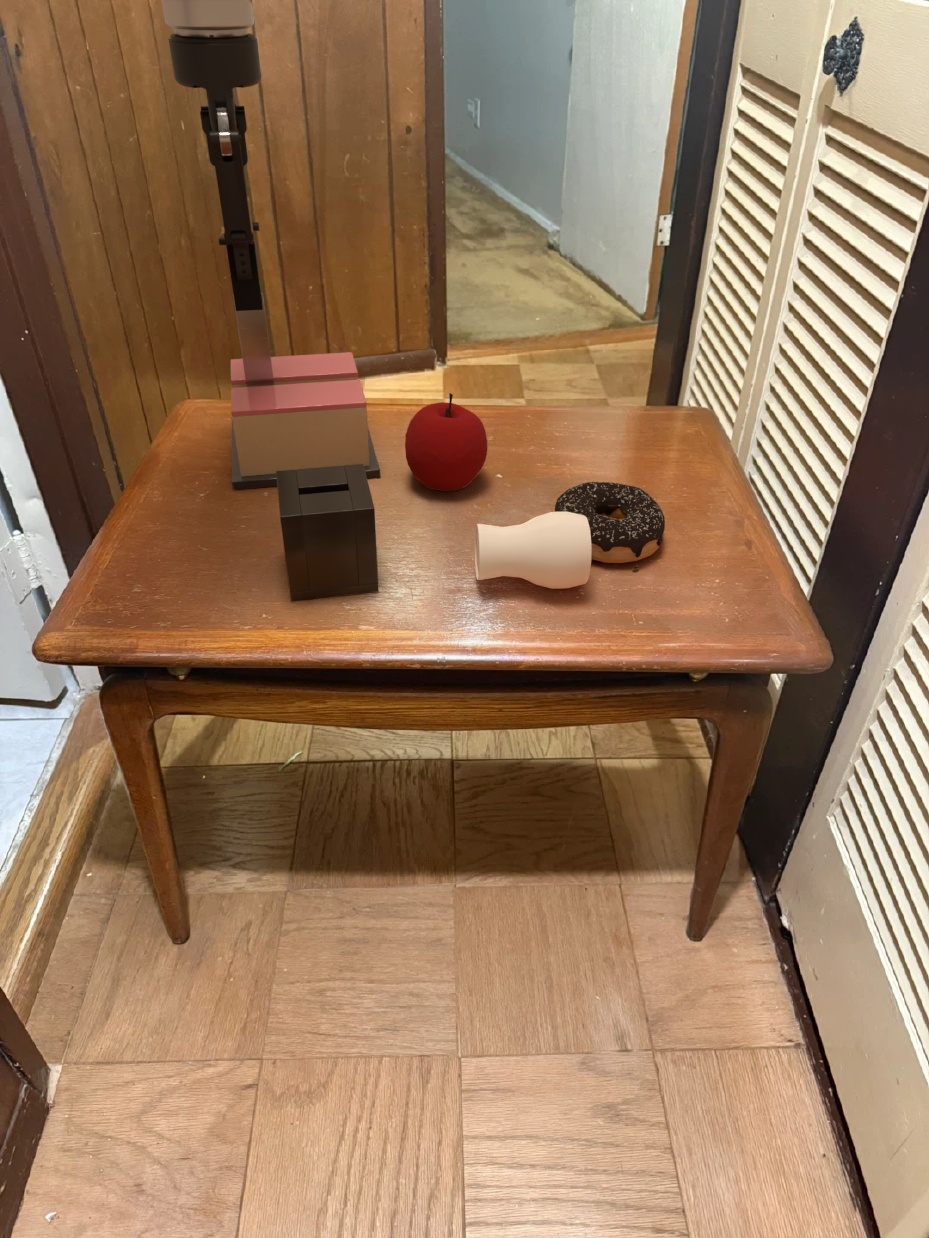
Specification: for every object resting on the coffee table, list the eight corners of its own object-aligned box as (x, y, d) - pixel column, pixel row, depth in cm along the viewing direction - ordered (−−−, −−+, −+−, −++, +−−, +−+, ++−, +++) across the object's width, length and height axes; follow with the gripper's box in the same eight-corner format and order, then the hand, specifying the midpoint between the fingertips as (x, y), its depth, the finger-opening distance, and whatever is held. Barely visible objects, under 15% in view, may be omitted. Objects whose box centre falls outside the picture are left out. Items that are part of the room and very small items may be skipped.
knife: (246, 390, 94) (219, 202, 82) (246, 383, 96) (219, 197, 84) (274, 389, 95) (251, 201, 83) (273, 381, 96) (250, 196, 84)
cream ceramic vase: (478, 606, 78) (586, 603, 79) (480, 541, 74) (596, 538, 75) (472, 561, 84) (573, 559, 85) (474, 498, 80) (581, 496, 80)
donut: (629, 500, 94) (634, 467, 91) (684, 560, 85) (691, 525, 82) (534, 515, 91) (537, 482, 88) (581, 579, 82) (586, 544, 80)
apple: (390, 472, 97) (387, 388, 91) (460, 454, 101) (462, 372, 95) (428, 510, 91) (428, 423, 85) (501, 490, 95) (506, 405, 88)
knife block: (291, 601, 78) (279, 516, 73) (286, 552, 84) (275, 470, 79) (378, 591, 80) (374, 508, 74) (368, 544, 86) (363, 463, 80)
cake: (233, 490, 93) (220, 416, 88) (232, 424, 106) (221, 356, 100) (380, 477, 96) (377, 405, 91) (363, 415, 108) (359, 348, 103)
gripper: (258, 40, 70) (289, 328, 85) (254, 23, 81) (282, 280, 96) (162, 40, 69) (210, 333, 83) (171, 23, 80) (212, 283, 95)
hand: (249, 304), depth 90 cm, fingers closed on knife, 2 cm apart
